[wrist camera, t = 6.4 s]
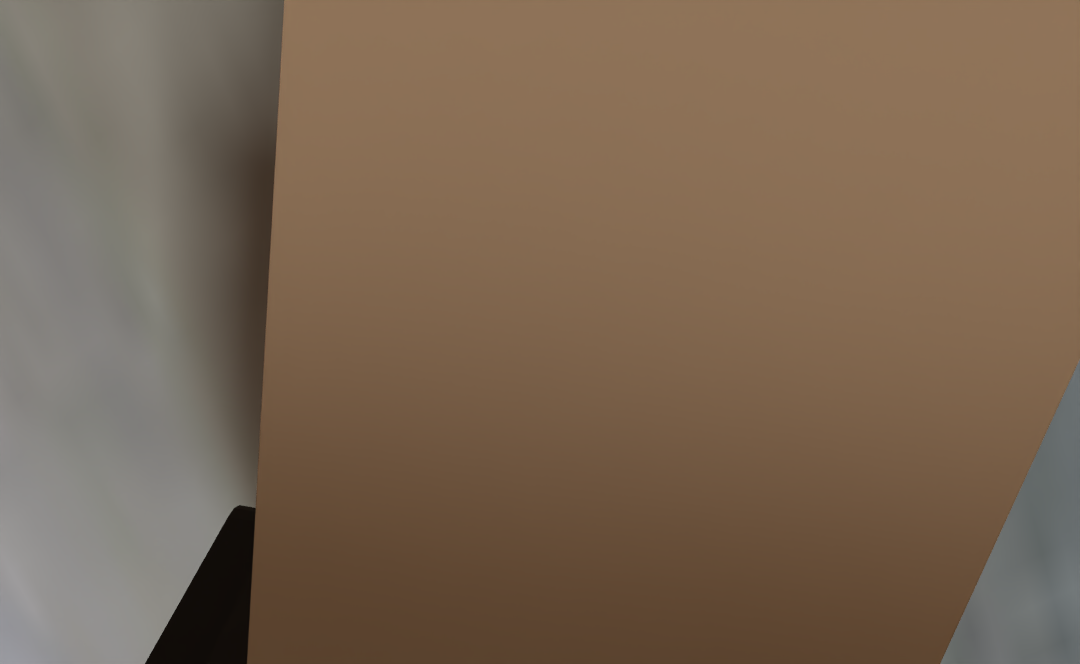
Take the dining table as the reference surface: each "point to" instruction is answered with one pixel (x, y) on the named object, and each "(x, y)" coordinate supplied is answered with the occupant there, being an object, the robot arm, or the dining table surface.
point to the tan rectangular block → (657, 325)
